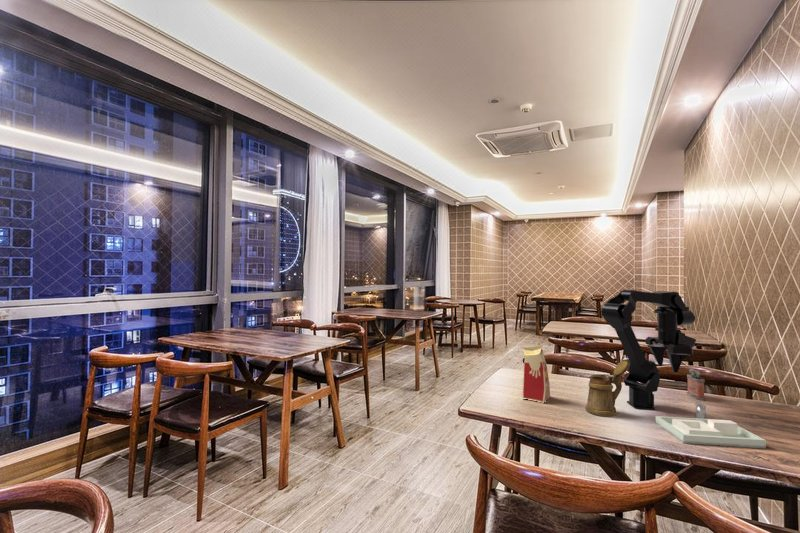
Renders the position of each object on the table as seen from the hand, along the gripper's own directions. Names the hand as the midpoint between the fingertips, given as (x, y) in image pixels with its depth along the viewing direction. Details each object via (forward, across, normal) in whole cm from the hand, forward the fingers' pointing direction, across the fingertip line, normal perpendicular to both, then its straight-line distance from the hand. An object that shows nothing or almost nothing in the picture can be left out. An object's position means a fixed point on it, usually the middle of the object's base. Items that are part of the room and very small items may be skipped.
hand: (667, 368), depth 132 cm
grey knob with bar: (+12, -16, -1) cm, 20 cm away
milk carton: (+12, -3, +47) cm, 49 cm away
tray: (+12, -28, +5) cm, 31 cm away
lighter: (+12, +8, -14) cm, 20 cm away
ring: (+11, -28, +5) cm, 31 cm away
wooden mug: (+12, -14, +26) cm, 32 cm away
